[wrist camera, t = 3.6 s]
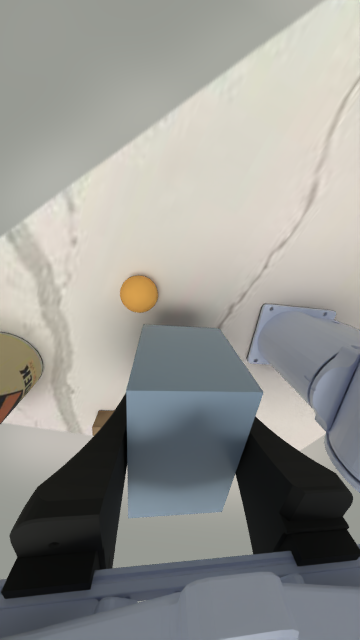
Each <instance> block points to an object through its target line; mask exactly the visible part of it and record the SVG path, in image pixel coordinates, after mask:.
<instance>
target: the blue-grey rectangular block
mask: <svg viewBox="0 0 360 640" xmlns="http://www.w3.org/2000/svg"><path fill="white" fill-rule="evenodd" d="M262 395H263V391H262V389H261V388H260V386H259V385H258V384H257V382H256V381H255V379H254V378H253V376H252V375H251V373H250V372H249V371H248V369H247V368H246V366H245V365H244V363H243V362H242V360H241V359H240V358H239V356H238V355H237V353H236V352H235V350H234V349H233V347H232V346H231V345H230V343H229V342H228V340H227V339H226V337H225V336H224V334H223V333H222V332H221V330H220V329H219V328H201V327H183V326H165V325H147V324H144V325H143V328H142V332H141V336H140V340H139V344H138V347H137V351H136V355H135V359H134V363H133V367H132V370H131V374H130V378H129V382H128V386H127V390H126V405H127V465H128V518H139V517H152V516H153V517H154V516H168V515H182V514H195V513H196V514H197V513H211V512H222V510H223V507H224V504H225V501H226V499H227V496H228V493H229V490H230V487H231V484H232V481H233V478H234V476H235V473H236V470H237V467H238V464H239V461H240V458H241V455H242V453H243V450H244V447H245V444H246V441H247V438H248V435H249V433H250V430H251V427H252V424H253V421H254V418H255V415H256V412H257V410H258V407H259V404H260V401H261V398H262Z"/></svg>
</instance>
